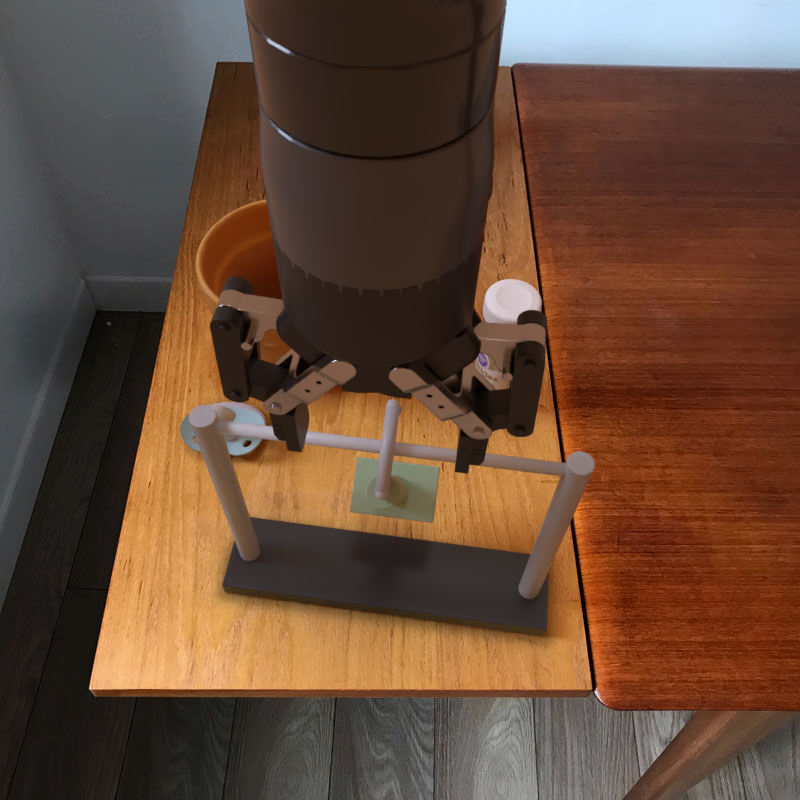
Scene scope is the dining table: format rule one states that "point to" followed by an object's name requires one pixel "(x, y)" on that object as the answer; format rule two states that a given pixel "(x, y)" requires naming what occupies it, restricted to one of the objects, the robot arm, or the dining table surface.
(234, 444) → the pacifier
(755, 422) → the dining table surface
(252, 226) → the flower pot
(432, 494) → the peg on square base
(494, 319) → the sprinkles bottle
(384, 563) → the rack
